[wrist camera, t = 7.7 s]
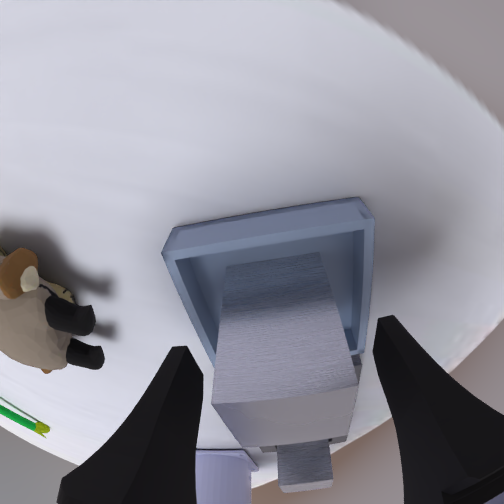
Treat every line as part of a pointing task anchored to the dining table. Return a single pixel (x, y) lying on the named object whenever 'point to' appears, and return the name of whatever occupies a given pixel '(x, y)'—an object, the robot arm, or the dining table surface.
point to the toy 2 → (42, 318)
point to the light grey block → (282, 355)
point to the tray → (272, 247)
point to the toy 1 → (25, 421)
